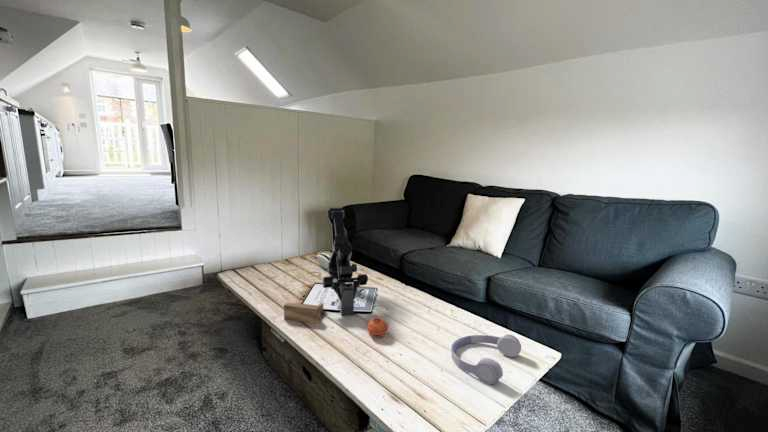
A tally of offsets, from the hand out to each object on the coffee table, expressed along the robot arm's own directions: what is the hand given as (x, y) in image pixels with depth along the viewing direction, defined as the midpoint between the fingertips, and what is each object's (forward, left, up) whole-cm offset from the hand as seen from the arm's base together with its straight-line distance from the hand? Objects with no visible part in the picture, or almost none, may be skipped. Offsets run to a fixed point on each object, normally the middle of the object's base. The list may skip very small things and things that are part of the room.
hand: (347, 299), depth 142 cm
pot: (+19, -6, -7) cm, 21 cm away
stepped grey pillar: (-1, +1, -7) cm, 7 cm away
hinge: (-46, +39, -7) cm, 61 cm away
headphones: (+56, +1, -7) cm, 57 cm away
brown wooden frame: (-14, -9, -7) cm, 18 cm away
